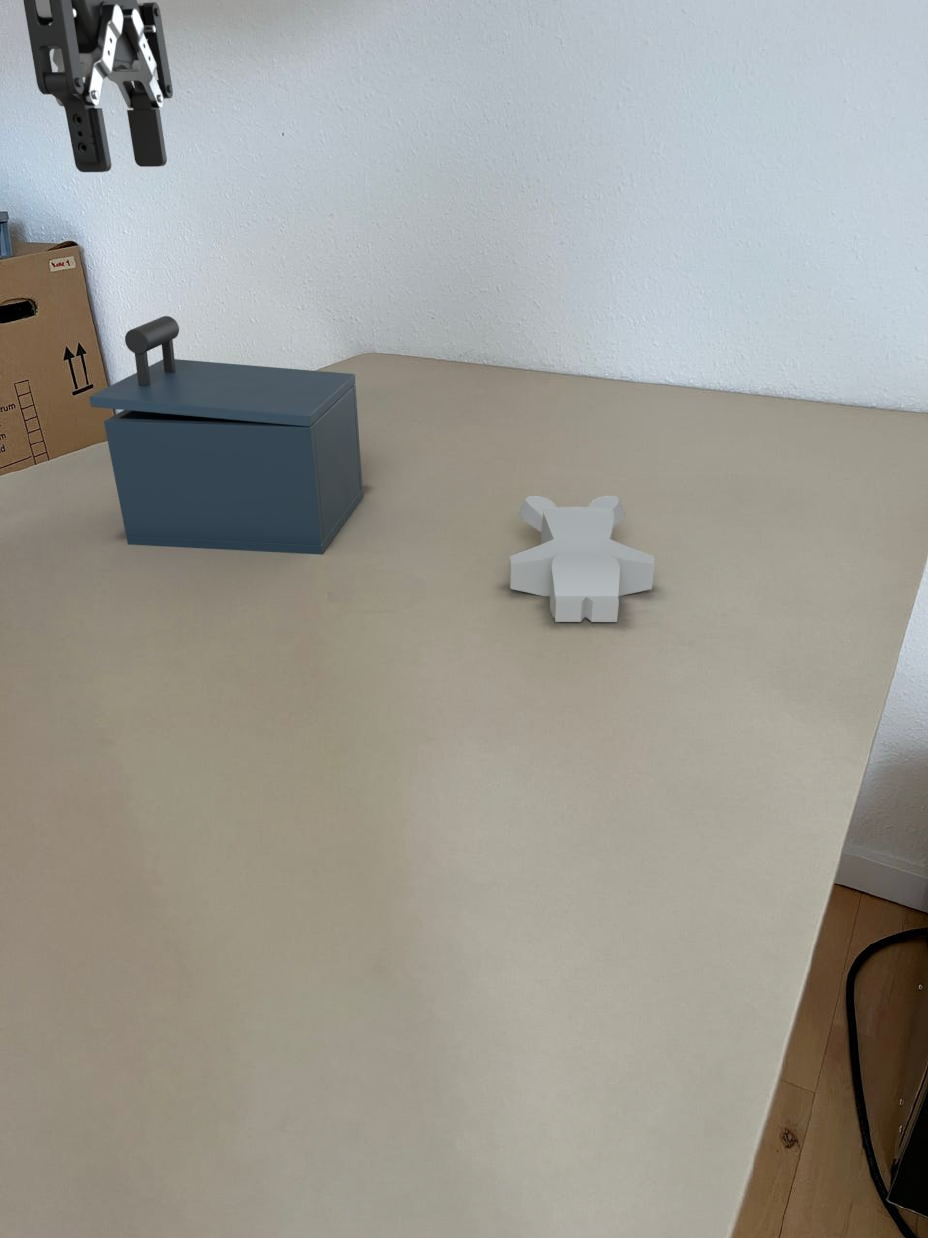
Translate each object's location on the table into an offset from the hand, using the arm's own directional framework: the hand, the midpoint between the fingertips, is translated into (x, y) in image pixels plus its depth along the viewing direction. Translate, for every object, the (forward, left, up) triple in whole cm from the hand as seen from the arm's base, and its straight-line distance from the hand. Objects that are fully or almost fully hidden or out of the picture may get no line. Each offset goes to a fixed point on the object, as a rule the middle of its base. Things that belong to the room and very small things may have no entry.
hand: (124, 168), depth 66 cm
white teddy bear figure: (+33, -9, -26) cm, 43 cm away
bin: (+6, 0, -26) cm, 27 cm away
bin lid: (+6, 0, -16) cm, 17 cm away
